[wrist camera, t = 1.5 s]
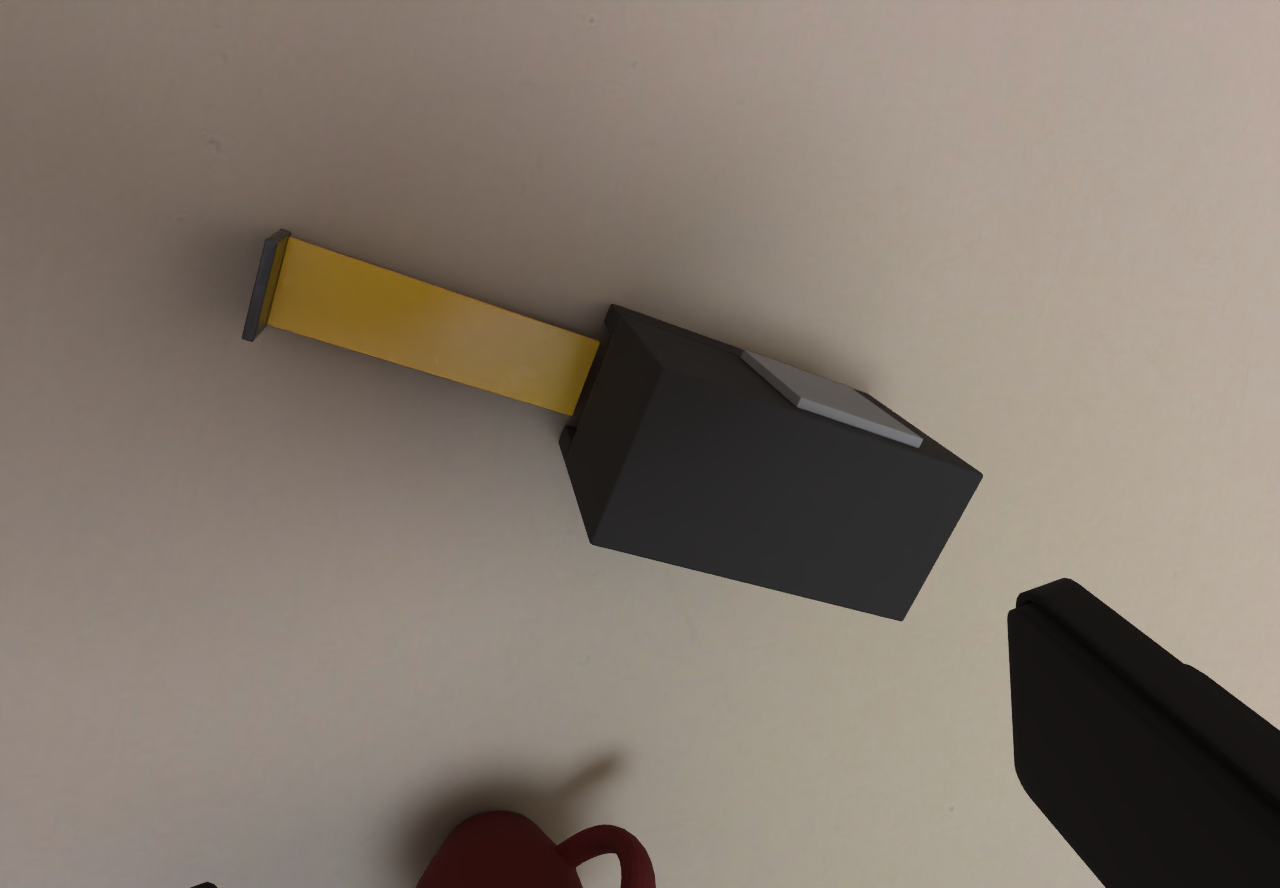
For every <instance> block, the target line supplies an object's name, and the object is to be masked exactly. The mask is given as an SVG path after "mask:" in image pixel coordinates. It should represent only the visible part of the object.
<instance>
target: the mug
mask: <svg viewBox="0 0 1280 888" xmlns="http://www.w3.org/2000/svg"><path fill="white" fill-rule="evenodd" d="M607 853H615V854H617V856H618V858H619V860H620V865H621V877H622V879H621V888H656V884H655V874H654V870H653V867H652V863H651V860H650V857H649V855H648V853H647V851H646V849H645V848H644V847H643V845H642V844H641V843H640V842H639V840H638V839H637V838H636V837H635V836H634V835H632V834H631V833H629V832H628V831H626V830H625V829H623V828H620V827H617V826H613V825H598V826H594V827H590V828H587V829H585V830H583V831H580V832H578V833H577V834H575V835H573V836H571V837H570V838H568V839H567V840H565V841H563V842H562V843H560V844H559V845H558V846H557V845H556V844H555V843H554V842H553V841H552V840H551V839H550V838H549V837H548V836H547V835H546V834H545V833H544V832H543V831H542V830H541V829H540V828H539V827H538V826H537V825H536V824H535V823H534V822H532V821H531V820H530V819H528V818H526V817H525V816H523V815H520V814H517V813H514V812H508V811H494V812H487V813H483V814H479V815H477V816H474V817H471V818H470V819H468V820H466V821H464V822H463V823H461V824H460V825H459V826H457V827H456V828H455V829H454V830H453V831H452V832H451V833H450V835H449V836H448V837H447V838H446V840H445V841H444V843H443V844H442V846H441V847H440V849H439V850H438V852H437V853H436V855H435V856H434V857H433V859H432V860H431V862H430V863H429V865H428V867H427V868H426V870H425V871H424V873H423V875H422V877H421V878H420V880H419V882H418V884H417V886H416V888H583V887H582V885H581V882H580V879H579V877H578V874H577V872H576V867H577V866H578V865H580V864H581V863H583V862H585V861H587V860H589V859H591V858H593V857H596V856H599V855H602V854H607Z"/></svg>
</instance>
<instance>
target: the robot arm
mask: <svg viewBox="0 0 1280 888" xmlns="http://www.w3.org/2000/svg"><path fill="white" fill-rule="evenodd" d="M1007 623H1008V643H1009V663H1010V683H1011V703H1012V723H1013V743H1014V764H1015V770H1016V773H1017V776H1018V778H1019V780H1020V782H1021V785H1022V786H1023V788H1024V790H1025V791H1026V793H1027V794H1028V795H1029V797H1030V798H1031V799H1032V800H1033V802H1034V803H1035V804H1036V805H1037V806H1038V808H1039V809H1040V810H1041V811H1042V812H1043V814H1044V815H1045V816H1046V817H1047V818H1048V820H1049V821H1050V822H1051V823H1052V824H1053V825H1054V827H1055V828H1056V829H1057V830H1058V831H1059V833H1060V834H1061V835H1062V836H1063V837H1064V839H1065V840H1066V841H1067V842H1068V843H1069V845H1070V846H1071V847H1072V848H1073V849H1074V850H1075V852H1076V853H1077V854H1078V855H1079V856H1080V858H1081V859H1082V860H1083V861H1084V862H1085V864H1086V865H1087V866H1088V867H1089V868H1090V870H1091V871H1092V872H1093V873H1094V874H1095V875H1096V877H1097V878H1098V879H1099V880H1100V881H1101V883H1102V884H1103V885H1104V886H1105V887H1106V888H1280V731H1279V730H1278V729H1277V728H1276V727H1274V726H1273V725H1272V724H1270V723H1269V722H1268V721H1266V720H1265V719H1264V718H1262V717H1261V716H1260V715H1258V714H1257V713H1256V712H1254V711H1253V710H1252V709H1250V708H1249V707H1248V706H1246V705H1245V704H1244V703H1242V702H1241V701H1240V700H1238V699H1237V698H1236V697H1234V696H1233V695H1232V694H1230V693H1229V692H1228V691H1226V690H1225V689H1224V688H1222V687H1221V686H1220V685H1218V684H1217V683H1216V682H1214V681H1213V680H1212V679H1211V678H1209V677H1208V676H1207V675H1205V674H1204V673H1202V672H1200V671H1199V670H1197V669H1195V668H1194V667H1192V666H1190V665H1187V664H1183V663H1182V662H1181V661H1179V660H1178V659H1177V658H1175V657H1174V656H1173V655H1172V654H1170V653H1169V652H1168V651H1166V650H1165V649H1164V648H1162V647H1161V646H1160V645H1158V644H1157V643H1156V642H1154V641H1153V640H1152V639H1151V638H1149V637H1148V636H1147V635H1145V634H1144V633H1143V632H1141V631H1140V630H1139V629H1137V628H1136V627H1135V626H1133V625H1132V624H1131V623H1129V622H1128V621H1127V620H1126V619H1124V618H1123V617H1122V616H1120V615H1119V614H1118V613H1116V612H1115V611H1114V610H1112V609H1111V608H1110V607H1108V606H1107V605H1106V604H1105V603H1103V602H1102V601H1101V600H1099V599H1098V598H1097V597H1095V596H1094V595H1093V594H1091V593H1090V592H1089V591H1087V590H1086V589H1085V588H1084V587H1082V586H1081V585H1080V584H1078V583H1077V582H1075V581H1073V580H1071V579H1067V578H1062V579H1059V580H1056V581H1054V582H1051V583H1048V584H1045V585H1042V586H1040V587H1037V588H1034V589H1031V590H1028V591H1025V592H1023V593H1020V594H1019V596H1018V597H1017V601H1016V608H1015V609H1012V610H1010V611H1009V613H1008V618H1007ZM191 888H217V887H216V886H215V885H214V884H212V883H209V882H205V883H202V884H199V885H196V886H194V887H191Z"/></svg>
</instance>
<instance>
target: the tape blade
mask: <svg viewBox="0 0 1280 888" xmlns="http://www.w3.org/2000/svg"><path fill="white" fill-rule="evenodd" d="M290 236H291V232H290V231H287V230H284V229H280V230H278V231H277V232H275V233H274V234H273V235H271V236H270V237H268V238H267V239H266V240H265V244H264V248H263V252H262V256H261V260H260V265H259V269H258V273H257V277H256V281H255V285H254V289H253V293H252V298H251V302H250V306H249V310H248V314H247V318H246V322H245V326H244V330H243V335H242V339H244V340H247V341H251V342H253V341H254V340H255V339H256V338H257V337H258V335H259V334H260V333H261V332H262V331H263V330H264V328H265V327H266V326H267V325H270V326H273V327H277V328H280V329H283V330H287V331H290V332H293V333H297V334H300V335H303V336H307V337H310V338H313V339H317V340H320V341H323V342H327V343H330V344H333V345H337V346H340V347H343V348H347V349H350V350H353V351H357V352H360V353H363V354H367V355H370V356H373V357H377V358H380V359H383V360H387V361H390V362H393V363H397V364H400V365H403V366H406V367H410V368H413V369H416V370H420V371H423V372H426V373H430V374H433V375H436V376H440V377H443V378H446V379H450V380H453V381H456V382H460V383H463V384H466V385H470V386H473V387H476V388H480V389H483V390H486V391H490V392H493V393H496V394H500V395H503V396H506V397H510V398H513V399H516V400H520V401H523V402H526V403H529V404H533V405H536V406H539V407H543V408H546V409H549V410H553V411H556V412H559V413H563V414H566V415H569V416H572V415H573V413H574V410H575V407H576V405H577V402H578V400H579V397H580V394H581V392H582V389H583V386H584V384H585V381H586V379H587V376H588V373H589V371H590V368H591V365H592V363H593V360H594V358H595V355H596V352H597V350H598V347H599V344H600V341H598V340H595V339H592V338H589V337H587V336H584V335H581V334H578V333H575V332H572V331H569V330H566V329H563V328H560V327H557V326H554V325H551V324H548V323H545V322H542V321H539V320H536V319H533V318H530V317H527V316H524V315H521V314H518V313H515V312H512V311H509V310H506V309H503V308H500V307H497V306H494V305H491V304H489V303H486V302H483V301H480V300H477V299H474V298H471V297H468V296H465V295H462V294H459V293H456V292H453V291H450V290H447V289H444V288H441V287H438V286H435V285H432V284H429V283H426V282H423V281H420V280H417V279H414V278H411V277H408V276H405V275H402V274H399V273H396V272H394V271H391V270H388V269H385V268H382V267H379V266H376V265H373V264H370V263H367V262H364V261H361V260H358V259H355V258H352V257H349V256H346V255H343V254H340V253H337V252H334V251H331V250H328V249H325V248H322V247H319V246H316V245H313V244H310V243H307V242H304V241H301V240H298V239H296V238H293V237H290Z"/></svg>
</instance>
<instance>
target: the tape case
mask: <svg viewBox="0 0 1280 888" xmlns="http://www.w3.org/2000/svg"><path fill="white" fill-rule="evenodd" d="M604 323H605V325H606V326H607V328H608V329H609V330H610V332H611V333H612V335H613V336H612V339H611V341H610V344H609V346H608V349H607V352H606V354H605V357H604V359H603V362H602V365H601V367H600V370H599V372H598V375H597V378H596V380H595V383H594V386H593V388H592V391H591V393H590V396H589V399H588V401H587V404H586V406H585V409H584V412H583V414H582V417H581V419H580V422H579V425H578V427H577V428H574V427H571V426H568V425H565V426H564V429H563V431H562V434H561V437H560V439H559V445H560V449H561V452H562V455H563V458H564V460H565V464H566V467H567V471H568V474H569V477H570V480H571V483H572V487H573V490H574V493H575V496H576V500H577V503H578V506H579V509H580V512H581V516H582V519H583V522H584V525H585V529H586V532H587V535H588V538H589V541H590V543H591V544H592V545H596V546H600V547H604V548H608V549H612V550H616V551H620V552H624V553H628V554H632V555H636V556H640V557H644V558H648V559H652V560H656V561H660V562H664V563H668V564H672V565H676V566H680V567H684V568H688V569H692V570H696V571H700V572H704V573H708V574H713V575H717V576H721V577H725V578H729V579H733V580H737V581H741V582H745V583H749V584H753V585H757V586H761V587H765V588H769V589H773V590H777V591H781V592H785V593H789V594H793V595H797V596H801V597H805V598H809V599H813V600H817V601H821V602H825V603H829V604H833V605H837V606H841V607H845V608H849V609H853V610H857V611H861V612H865V613H869V614H874V615H878V616H882V617H886V618H890V619H894V620H898V621H903V620H904V618H905V616H906V614H907V613H908V611H909V609H910V607H911V605H912V604H913V602H914V600H915V598H916V596H917V595H918V593H919V591H920V589H921V587H922V586H923V584H924V582H925V580H926V578H927V577H928V575H929V573H930V571H931V569H932V568H933V566H934V564H935V562H936V560H937V559H938V557H939V555H940V553H941V551H942V550H943V548H944V546H945V544H946V542H947V541H948V539H949V537H950V535H951V533H952V532H953V530H954V528H955V526H956V525H957V523H958V521H959V519H960V517H961V516H962V514H963V512H964V510H965V508H966V507H967V505H968V503H969V501H970V499H971V498H972V496H973V494H974V492H975V490H976V489H977V487H978V485H979V483H980V481H981V480H982V478H983V474H982V473H981V472H979V471H978V470H976V469H975V468H973V467H972V466H971V465H969V464H968V463H966V462H965V461H963V460H962V459H961V458H959V457H958V456H956V455H955V454H953V453H952V452H950V451H949V450H948V449H946V448H945V447H943V446H942V445H940V444H939V443H938V442H936V441H935V440H933V439H932V438H930V437H929V436H927V435H926V434H925V433H923V432H922V431H920V430H919V429H917V428H916V427H915V426H913V425H912V424H910V423H909V422H907V421H906V420H905V419H903V418H902V417H900V416H899V415H897V414H896V413H894V412H893V411H892V410H890V409H888V408H887V407H886V406H884V405H883V404H882V403H880V402H879V401H877V400H876V399H874V398H873V397H872V396H870V395H869V394H866V393H864V392H861V391H858V390H855V389H852V388H851V387H849V386H846V385H843V384H840V383H838V382H835V381H832V380H829V379H826V378H824V377H821V376H818V375H815V374H812V373H810V372H807V371H804V370H801V369H798V368H795V367H793V366H790V365H787V364H784V363H781V362H779V361H776V360H773V359H770V358H767V357H764V356H762V355H759V354H756V353H753V352H750V351H748V350H742V349H740V348H737V347H734V346H731V345H728V344H725V343H723V342H720V341H717V340H714V339H711V338H709V337H706V336H703V335H700V334H697V333H694V332H692V331H689V330H686V329H683V328H680V327H678V326H675V325H672V324H669V323H666V322H663V321H661V320H658V319H655V318H652V317H649V316H647V315H644V314H641V313H638V312H635V311H632V310H630V309H627V308H624V307H621V306H618V305H616V304H611V305H610V307H609V310H608V313H607V315H606V318H605V321H604Z"/></svg>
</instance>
